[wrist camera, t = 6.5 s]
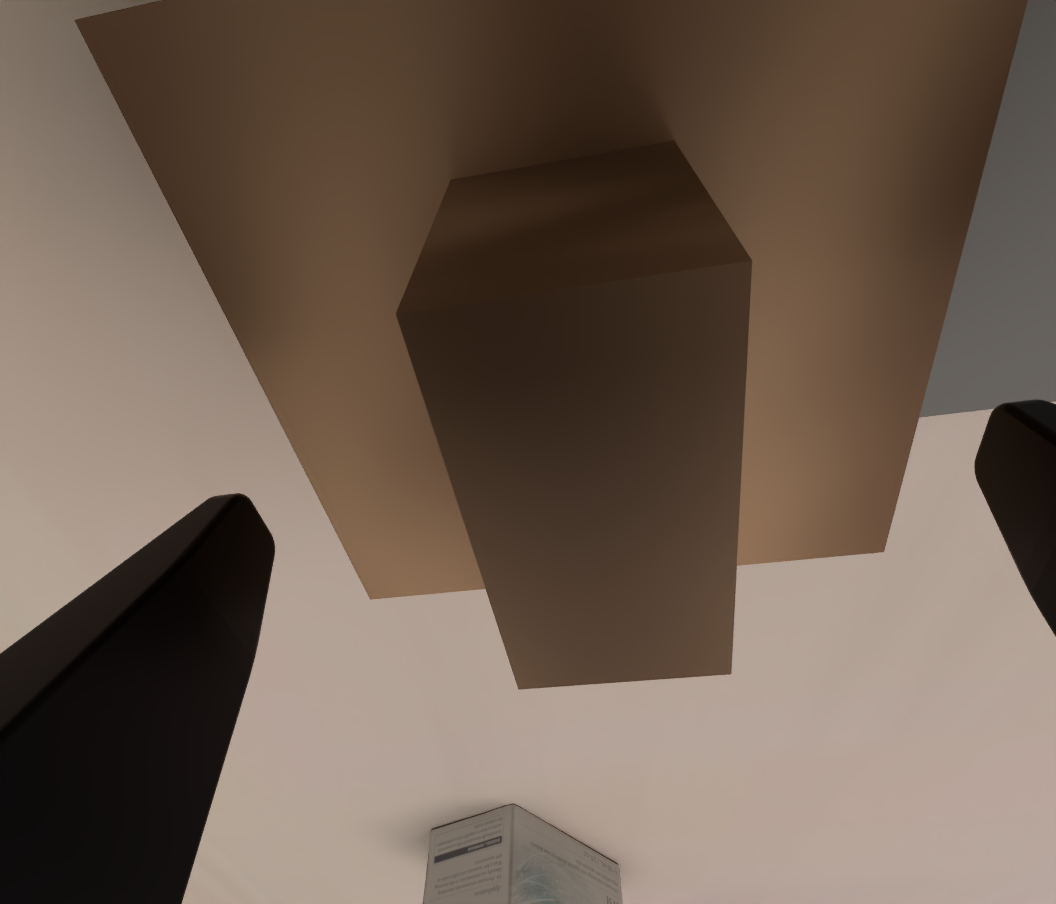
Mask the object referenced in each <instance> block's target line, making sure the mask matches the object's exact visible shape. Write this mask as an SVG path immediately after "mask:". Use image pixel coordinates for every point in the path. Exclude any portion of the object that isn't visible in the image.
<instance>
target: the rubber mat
mask: <svg viewBox="0 0 1056 904" xmlns="http://www.w3.org/2000/svg"><path fill="white" fill-rule="evenodd" d="M1034 399H1039V400H1045V401H1048V402H1053V401H1056V0H1028V2H1027V6H1026V10H1025V13H1024V17H1023V21H1022V25H1021V29H1020V33H1019V36H1018V40H1017V44H1016V48H1015V52H1014V56H1013V59H1012V63H1011V67H1010V71H1009V75H1008V79H1007V82H1006V86H1005V90H1004V94H1003V98H1002V102H1001V105H1000V109H999V113H998V117H997V121H996V125H995V128H994V132H993V136H992V140H991V144H990V147H989V151H988V155H987V159H986V163H985V167H984V170H983V174H982V178H981V182H980V186H979V190H978V193H977V197H976V201H975V205H974V209H973V213H972V216H971V220H970V224H969V228H968V232H967V236H966V239H965V243H964V247H963V251H962V255H961V259H960V262H959V266H958V270H957V274H956V278H955V282H954V285H953V289H952V293H951V297H950V301H949V304H948V308H947V312H946V316H945V320H944V324H943V327H942V331H941V335H940V339H939V343H938V347H937V350H936V354H935V358H934V362H933V366H932V370H931V373H930V377H929V381H928V385H927V389H926V393H925V396H924V400H923V404H922V408H921V412H920V416H919V417H926V416H935V415H943V414H952V413H960V412H969V411H977V410H985V409H994V408H996V407H997V406H998V405H1001V404H1003V403H1008V402H1017V401H1025V400H1034Z"/></svg>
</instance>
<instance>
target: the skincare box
mask: <svg viewBox="0 0 1056 904" xmlns="http://www.w3.org/2000/svg"><path fill="white" fill-rule="evenodd" d="M423 904H623V903H622V892H621V881H620V870H619V866H618V865H617V864H615V863H614V862H612V861H610V860H609V859H607V858H605V857H603V856H602V855H600V854H598V853H597V852H595V851H593V850H592V849H590V848H588V847H587V846H585V845H583V844H581V843H580V842H578V841H576V840H575V839H573V838H571V837H570V836H568V835H566V834H564V833H563V832H561V831H560V830H558V829H556V828H554V827H553V826H551V825H549V824H548V823H546V822H544V821H542V820H541V819H539V818H537V817H536V816H534V815H532V814H531V813H529V812H527V811H525V810H524V809H522V808H520V807H518V806H517V805H514V804H512V805H508V806H505V807H501V808H498V809H495V810H492V811H490V812H487V813H484V814H481V815H478V816H475V817H471V818H468V819H465V820H462V821H459V822H456V823H453V824H450V825H447V826H443V827H440V828H437V829H434V830H432V831H431V832H430V842H429V853H428V863H427V871H426V880H425V889H424V897H423Z"/></svg>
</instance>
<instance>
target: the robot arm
mask: <svg viewBox="0 0 1056 904" xmlns="http://www.w3.org/2000/svg"><path fill="white" fill-rule="evenodd" d="M975 475H976V479H977V482H978V484H979V486H980V488H981V490H982V493H983V495H984V497H985V499H986V501H987V503H988V506H989V508H990V510H991V512H992V514H993V516H994V518H995V521H996V523H997V525H998V527H999V529H1000V531H1001V534H1002V536H1003V538H1004V540H1005V542H1006V544H1007V546H1008V549H1009V551H1010V553H1011V555H1012V557H1013V559H1014V562H1015V564H1016V566H1017V568H1018V570H1019V572H1020V575H1021V577H1022V579H1023V581H1024V582H1025V584H1026V586H1027V588H1028V590H1029V592H1030V594H1031V596H1032V598H1033V599H1034V601H1035V603H1036V605H1037V606H1038V608H1039V610H1040V612H1041V613H1042V615H1043V617H1044V618H1045V620H1046V621H1047V623H1048V625H1049V626H1050V628H1051V630H1052V631H1053V633H1054V634H1055V636H1056V404H1053V403H1051V402H1048V401H1045V400H1039V399H1034V400H1025V401H1017V402H1008V403H1003V404H1001V405H998V406H997V407H996V408H995V409H994V410H993V411H992V413H991V415H990V418H989V421H988V423H987V426H986V429H985V432H984V435H983V438H982V441H981V444H980V447H979V450H978V453H977V455H976V459H975ZM274 555H275V545H274V540H273V537H272V535H271V533H270V531H269V530H268V528H267V526H266V525H265V523H264V521H263V520H262V518H261V516H260V515H259V513H258V511H257V510H256V508H255V506H254V505H253V503H252V501H251V500H250V499H249V498H248V497H247V496H245V495H244V494H239V493H236V494H228V495H219V496H214V497H211V498H209V499H207V500H206V501H205V502H203V503H202V504H201V505H199V506H198V507H197V508H195V509H194V510H193V511H191V512H190V513H189V514H187V515H186V516H185V517H183V518H182V519H180V520H179V521H178V522H176V523H175V524H174V525H172V526H171V527H170V528H168V529H167V530H166V531H164V532H163V533H162V534H160V535H159V536H158V537H156V538H155V539H154V540H152V541H151V542H150V543H148V544H147V545H146V546H144V547H143V548H142V549H140V550H139V551H138V552H136V553H135V554H133V555H132V556H131V557H129V558H128V559H127V560H125V561H124V562H123V563H121V564H120V565H119V566H117V567H116V568H115V569H113V570H112V571H111V572H109V573H108V574H107V575H105V576H104V577H103V578H101V579H100V580H99V581H97V582H96V583H95V584H93V585H92V586H91V587H89V588H88V589H87V590H85V591H84V592H82V593H81V594H80V595H78V596H77V597H76V598H74V599H73V600H72V601H70V602H69V603H68V604H66V605H65V606H64V607H62V608H61V609H60V610H58V611H57V612H56V613H54V614H53V615H52V616H50V617H49V618H48V619H46V620H45V621H44V622H42V623H41V624H40V625H38V626H37V627H35V628H34V629H33V630H31V631H30V632H29V633H27V634H26V635H25V636H23V637H22V638H21V639H19V640H18V641H17V642H15V643H14V644H13V645H11V646H10V647H9V648H7V649H6V650H5V651H3V652H2V653H1V654H0V904H182V900H183V897H184V894H185V890H186V887H187V884H188V880H189V877H190V874H191V871H192V867H193V864H194V861H195V857H196V854H197V851H198V847H199V844H200V841H201V837H202V834H203V831H204V827H205V824H206V821H207V817H208V814H209V811H210V807H211V804H212V801H213V797H214V794H215V791H216V787H217V784H218V781H219V777H220V774H221V771H222V767H223V764H224V761H225V757H226V754H227V751H228V747H229V744H230V741H231V737H232V734H233V731H234V727H235V724H236V721H237V717H238V714H239V711H240V708H241V704H242V701H243V698H244V694H245V691H246V688H247V684H248V681H249V678H250V674H251V670H252V667H253V663H254V659H255V655H256V650H257V646H258V641H259V636H260V631H261V625H262V620H263V615H264V609H265V604H266V598H267V593H268V588H269V582H270V577H271V572H272V566H273V561H274Z"/></svg>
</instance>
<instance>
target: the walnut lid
mask: <svg viewBox="0 0 1056 904" xmlns="http://www.w3.org/2000/svg"><path fill="white" fill-rule="evenodd" d="M1027 2H1028V0H161V1H157V2H153V3H148V4H144V5H139V6H135V7H130V8H126V9H121V10H117V11H112V12H108V13H103V14H99V15H94V16H90V17H86V18H81V19H77V20H75V22H76V24H77V26H78V28H79V30H80V32H81V34H82V36H83V38H84V40H85V42H86V44H87V46H88V48H89V50H90V51H91V53H92V55H93V57H94V59H95V61H96V63H97V65H98V67H99V69H100V71H101V73H102V75H103V77H104V79H105V81H106V83H107V85H108V87H109V89H110V91H111V93H112V95H113V97H114V98H115V100H116V102H117V104H118V106H119V108H120V110H121V112H122V114H123V116H124V118H125V120H126V122H127V124H128V126H129V128H130V130H131V132H132V134H133V136H134V138H135V140H136V142H137V144H138V146H139V147H140V149H141V151H142V153H143V155H144V157H145V159H146V161H147V163H148V165H149V167H150V169H151V171H152V173H153V175H154V177H155V179H156V181H157V183H158V185H159V187H160V189H161V191H162V193H163V194H164V196H165V198H166V200H167V202H168V204H169V206H170V208H171V210H172V212H173V214H174V216H175V218H176V220H177V222H178V224H179V226H180V228H181V230H182V232H183V234H184V236H185V238H186V240H187V241H188V243H189V245H190V247H191V249H192V251H193V253H194V255H195V257H196V259H197V261H198V263H199V265H200V267H201V269H202V271H203V273H204V275H205V277H206V279H207V281H208V283H209V285H210V287H211V288H212V290H213V292H214V294H215V296H216V298H217V300H218V302H219V304H220V306H221V308H222V310H223V312H224V314H225V316H226V318H227V320H228V322H229V324H230V326H231V328H232V330H233V332H234V334H235V335H236V337H237V339H238V341H239V343H240V345H241V347H242V349H243V351H244V353H245V355H246V357H247V359H248V361H249V363H250V365H251V367H252V369H253V371H254V373H255V375H256V377H257V379H258V381H259V382H260V384H261V386H262V388H263V390H264V392H265V394H266V396H267V398H268V400H269V402H270V404H271V406H272V408H273V410H274V412H275V414H276V416H277V418H278V420H279V422H280V424H281V426H282V428H283V429H284V431H285V433H286V435H287V437H288V439H289V441H290V443H291V445H292V447H293V449H294V451H295V453H296V455H297V457H298V459H299V461H300V463H301V465H302V467H303V469H304V471H305V473H306V475H307V477H308V478H309V480H310V482H311V484H312V486H313V488H314V490H315V492H316V494H317V496H318V498H319V500H320V502H321V504H322V506H323V508H324V510H325V512H326V514H327V516H328V518H329V520H330V522H331V524H332V525H333V527H334V529H335V531H336V533H337V535H338V537H339V539H340V541H341V543H342V545H343V547H344V549H345V551H346V553H347V555H348V557H349V559H350V561H351V563H352V565H353V567H354V569H355V571H356V572H357V574H358V576H359V578H360V580H361V582H362V584H363V586H364V588H365V590H366V592H367V594H368V596H369V598H370V599H380V598H391V597H402V596H413V595H423V594H434V593H445V592H456V591H467V590H477V589H486V591H487V594H488V598H489V601H490V604H491V607H492V610H493V613H494V616H495V619H496V622H497V625H498V628H499V631H500V634H501V637H502V640H503V643H504V646H505V649H506V652H507V656H508V659H509V662H510V665H511V668H512V671H513V674H514V677H515V680H516V683H517V686H518V689H532V688H545V687H559V686H573V685H587V684H601V683H615V682H629V681H643V680H657V679H671V678H685V677H698V676H712V675H726V674H731V668H732V648H733V629H734V609H735V589H736V570H737V565H748V564H759V563H770V562H780V561H791V560H802V559H813V558H824V557H835V556H845V555H856V554H867V553H878V552H884V550H885V546H886V542H887V538H888V534H889V530H890V527H891V523H892V519H893V515H894V511H895V507H896V504H897V500H898V496H899V492H900V488H901V484H902V481H903V477H904V473H905V469H906V465H907V461H908V458H909V454H910V450H911V446H912V442H913V438H914V435H915V431H916V427H917V423H918V419H919V416H920V412H921V408H922V404H923V400H924V396H925V393H926V389H927V385H928V381H929V377H930V373H931V370H932V366H933V362H934V358H935V354H936V350H937V347H938V343H939V339H940V335H941V331H942V327H943V324H944V320H945V316H946V312H947V308H948V304H949V301H950V297H951V293H952V289H953V285H954V282H955V278H956V274H957V270H958V266H959V262H960V259H961V255H962V251H963V247H964V243H965V239H966V236H967V232H968V228H969V224H970V220H971V216H972V213H973V209H974V205H975V201H976V197H977V193H978V190H979V186H980V182H981V178H982V174H983V170H984V167H985V163H986V159H987V155H988V151H989V147H990V144H991V140H992V136H993V132H994V128H995V125H996V121H997V117H998V113H999V109H1000V105H1001V102H1002V98H1003V94H1004V90H1005V86H1006V82H1007V79H1008V75H1009V71H1010V67H1011V63H1012V59H1013V56H1014V52H1015V48H1016V44H1017V40H1018V36H1019V33H1020V29H1021V25H1022V21H1023V17H1024V13H1025V10H1026V6H1027Z"/></svg>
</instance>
